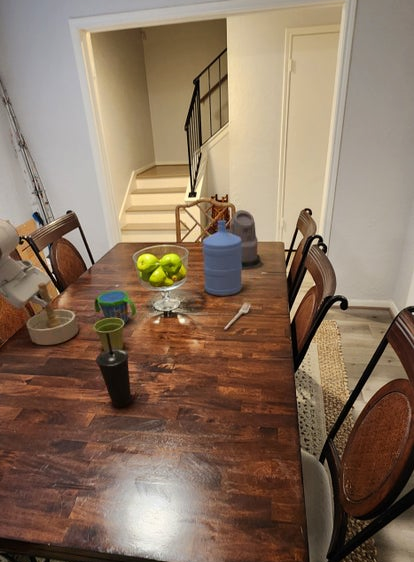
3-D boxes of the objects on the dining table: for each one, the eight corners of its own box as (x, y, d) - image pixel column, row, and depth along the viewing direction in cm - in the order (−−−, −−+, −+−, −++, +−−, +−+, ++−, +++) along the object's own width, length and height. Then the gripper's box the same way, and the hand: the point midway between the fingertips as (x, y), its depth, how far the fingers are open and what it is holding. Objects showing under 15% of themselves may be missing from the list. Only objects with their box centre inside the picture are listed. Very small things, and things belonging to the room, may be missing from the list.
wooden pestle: (45, 328, 125) (32, 287, 118) (48, 323, 129) (36, 282, 121) (59, 327, 126) (47, 285, 118) (61, 321, 130) (50, 281, 122)
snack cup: (91, 324, 134) (85, 299, 129) (109, 312, 142) (104, 288, 137) (126, 332, 128) (121, 305, 123) (143, 319, 136) (139, 293, 131)
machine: (266, 266, 180) (268, 213, 167) (236, 271, 176) (235, 217, 163) (241, 250, 204) (242, 203, 191) (214, 254, 200) (212, 206, 187)
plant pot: (134, 343, 121) (129, 319, 117) (117, 358, 114) (112, 333, 109) (110, 339, 124) (105, 316, 120) (92, 353, 117) (86, 329, 112)
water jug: (237, 297, 149) (237, 226, 134) (200, 295, 153) (196, 225, 138) (244, 283, 161) (245, 216, 147) (210, 281, 165) (207, 216, 151)
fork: (220, 329, 127) (220, 324, 126) (243, 306, 141) (243, 302, 140) (229, 331, 125) (229, 326, 124) (251, 308, 140) (251, 303, 139)
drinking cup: (110, 392, 99) (95, 326, 89) (139, 392, 99) (127, 325, 88) (102, 411, 93) (85, 342, 82) (133, 411, 92) (119, 341, 82)
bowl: (26, 348, 121) (20, 332, 118) (38, 326, 135) (33, 311, 132) (74, 343, 123) (70, 327, 120) (81, 322, 136) (78, 307, 133)
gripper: (-3, 280, 109) (38, 310, 113) (31, 258, 126) (65, 285, 130) (-12, 294, 111) (29, 323, 116) (22, 271, 129) (57, 297, 133)
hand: (48, 303), depth 123 cm, fingers closed on wooden pestle, 2 cm apart
